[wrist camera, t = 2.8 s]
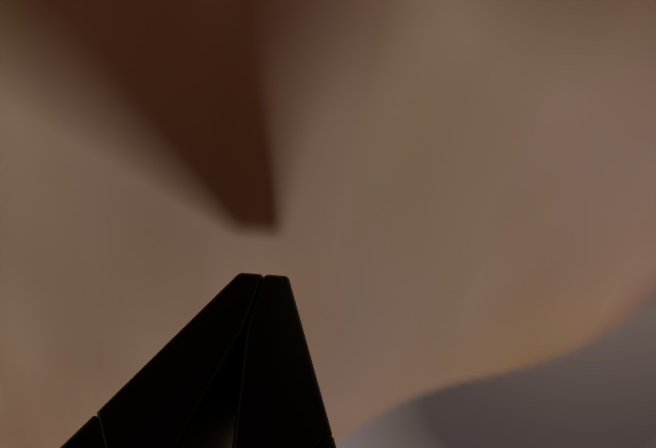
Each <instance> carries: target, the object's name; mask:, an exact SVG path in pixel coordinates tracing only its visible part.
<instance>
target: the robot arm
mask: <svg viewBox="0 0 656 448" xmlns="http://www.w3.org/2000/svg"><path fill="white" fill-rule="evenodd" d="M97 417H98V418H97ZM60 448H336V445H335V442H334V439H333V437H332V432H331V428H330V425H329V421H328V417H327V414H326V410H325V407H324V403H323V399H322V396H321V392H320V389H319V385H318V381H317V378H316V374H315V371H314V367H313V364H312V360H311V356H310V353H309V349H308V346H307V342H306V338H305V335H304V331H303V328H302V324H301V320H300V317H299V313H298V310H297V306H296V302H295V299H294V295H293V292H292V288H291V284H290V281H289V279H288V277H286V276H278V275H266V276H265V277H263V276H262V275H261V274H251V273H240V274H238V275H237V276H236V277H235V278H234V279H233V280H232V281H231V282H230V283H229V284H228V285H227V286H226V287H225V288H223V289H222V290H221V291H220V292H219V293H218V294H217V295H216V296H215V297H214V298H213V299H212V300H211V301H210V302H209V303H208V304H207V305H206V306H205V307H204V308H203V309H202V310H201V311H200V312H199V313H198V314H197V315H196V316H195V317H194V318H193V319H192V320H191V321H190V322H189V323H188V324H187V325H186V326H185V327H184V328H183V329H182V330H181V331H180V332H179V333H178V334H177V335H176V336H175V337H173V338H172V339H171V340H170V341H169V342H168V343H167V344H166V345H165V346H164V347H163V348H162V349H161V350H160V351H159V352H158V353H157V354H156V355H155V356H154V357H153V358H152V359H151V360H150V361H149V362H148V363H147V364H146V365H145V366H144V367H143V368H142V369H141V370H140V371H139V372H138V373H137V374H136V375H135V376H134V377H133V378H132V379H131V380H130V381H129V382H128V383H127V384H126V385H125V386H124V387H122V388H121V389H120V390H119V391H118V392H117V393H116V394H115V395H114V396H113V397H112V398H111V399H110V400H109V401H108V402H107V403H106V404H105V405H104V406H103V407H102V408H101V409H100V410H99V411H98V412H97V416H93V417H92V418H91V419H90V420H89V421H88V422H86V423H85V424H84V425H83V426H82V427H81V428H80V429H79V430H78V431H77V432H76V433H75V434H74V435H73V436H72V437H71V438H70V439H69V440H68V441H67V442H66V443H65V444H64V445H62V446H61V447H60Z"/></svg>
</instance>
